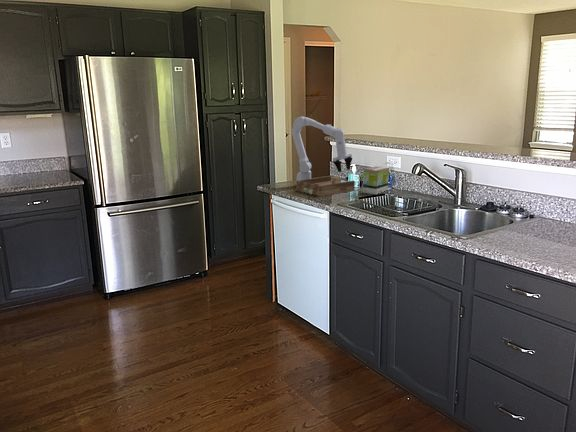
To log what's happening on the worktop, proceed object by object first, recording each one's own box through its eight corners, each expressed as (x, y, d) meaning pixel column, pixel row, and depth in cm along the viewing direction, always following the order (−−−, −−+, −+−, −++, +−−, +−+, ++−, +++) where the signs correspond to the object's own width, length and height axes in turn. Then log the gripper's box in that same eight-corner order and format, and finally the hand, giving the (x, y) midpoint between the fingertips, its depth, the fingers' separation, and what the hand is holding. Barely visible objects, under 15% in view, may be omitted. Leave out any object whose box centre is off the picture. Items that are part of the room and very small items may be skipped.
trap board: (296, 190, 315) (296, 181, 314) (330, 185, 332) (330, 175, 331) (320, 196, 299) (320, 186, 297) (354, 190, 315) (354, 180, 314)
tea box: (377, 195, 302) (378, 170, 299) (362, 192, 308) (362, 168, 305) (388, 190, 314) (389, 166, 310) (374, 188, 320) (374, 165, 316)
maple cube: (331, 183, 320) (331, 177, 319) (336, 183, 323) (336, 176, 322) (336, 184, 317) (336, 178, 316) (340, 184, 320) (340, 177, 319)
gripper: (337, 151, 310) (340, 173, 313) (354, 146, 319) (356, 168, 322) (329, 151, 316) (332, 173, 319) (346, 147, 324) (349, 168, 327)
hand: (344, 170), depth 321 cm, fingers open, 7 cm apart
